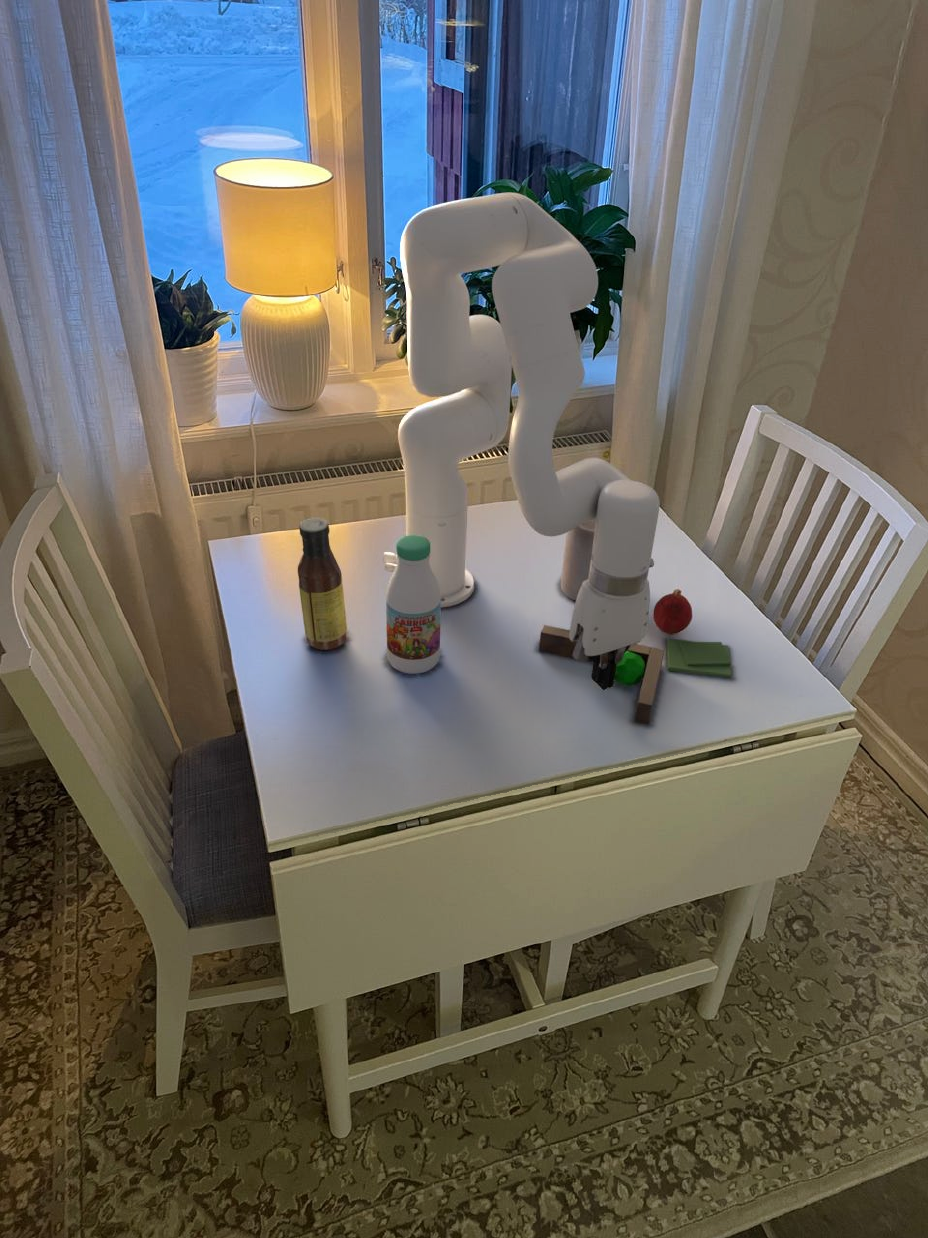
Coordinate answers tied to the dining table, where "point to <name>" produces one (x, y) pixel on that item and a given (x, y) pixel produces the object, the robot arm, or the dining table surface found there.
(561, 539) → the dining table surface
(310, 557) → the sauce bottle
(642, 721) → the corner stop
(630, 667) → the polyhedron
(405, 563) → the milk bottle
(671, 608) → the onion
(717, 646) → the green rag
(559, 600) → the dining table surface
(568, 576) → the pillar candle
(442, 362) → the robot arm
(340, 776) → the dining table surface
